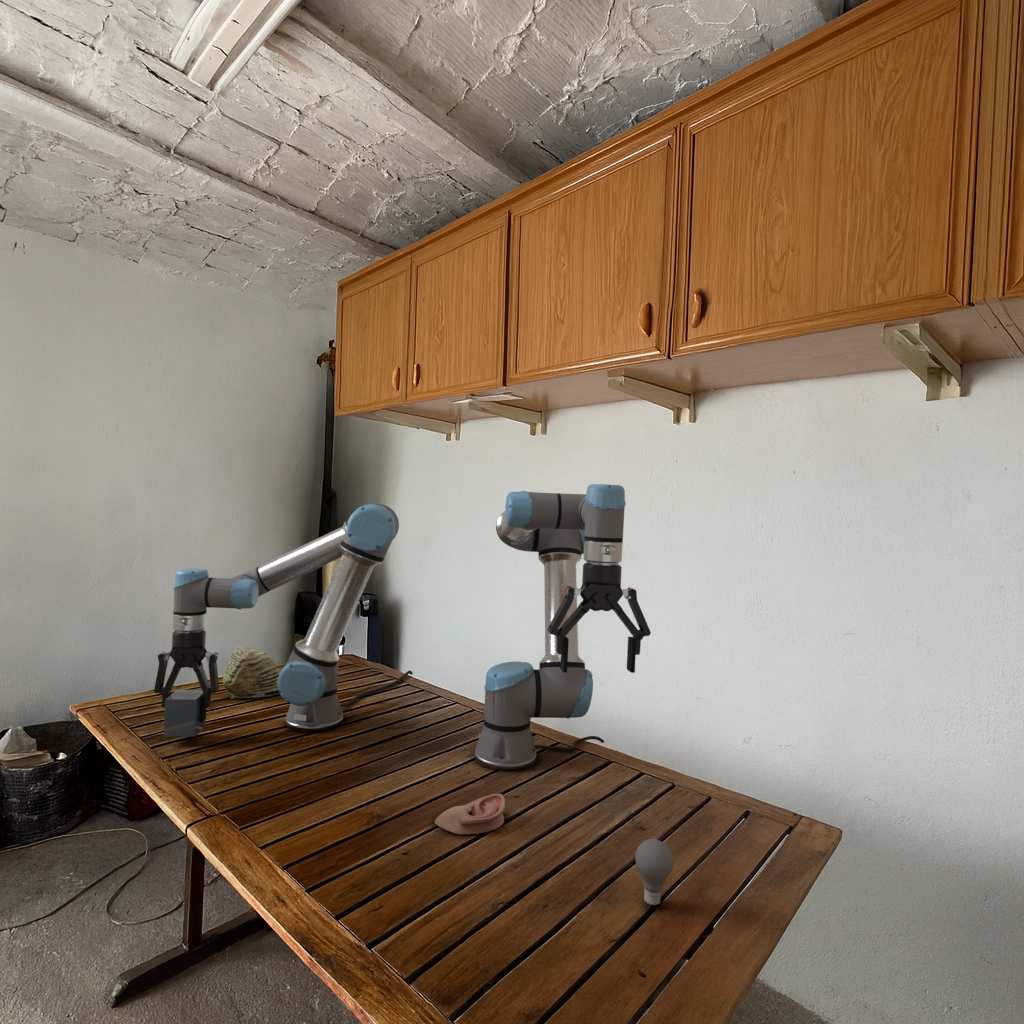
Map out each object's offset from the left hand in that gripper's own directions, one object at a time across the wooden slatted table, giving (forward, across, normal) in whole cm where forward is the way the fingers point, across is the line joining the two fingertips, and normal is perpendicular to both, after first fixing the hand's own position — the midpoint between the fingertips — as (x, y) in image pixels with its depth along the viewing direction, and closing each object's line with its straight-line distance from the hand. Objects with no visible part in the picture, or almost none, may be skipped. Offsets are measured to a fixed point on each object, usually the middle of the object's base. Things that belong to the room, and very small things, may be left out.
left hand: (185, 720), depth 160 cm
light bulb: (+5, +96, -73) cm, 121 cm away
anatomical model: (+5, +69, -45) cm, 82 cm away
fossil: (+5, +8, +37) cm, 38 cm away
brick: (+3, 0, 0) cm, 3 cm away
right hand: (-27, +92, -49) cm, 108 cm away
